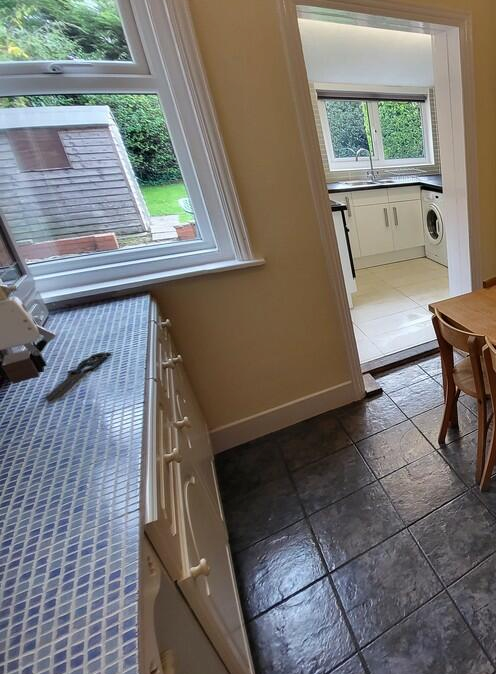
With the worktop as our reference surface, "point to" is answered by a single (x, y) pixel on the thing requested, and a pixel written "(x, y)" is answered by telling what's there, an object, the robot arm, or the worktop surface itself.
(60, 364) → the worktop surface
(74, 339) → the worktop surface
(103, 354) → the knife
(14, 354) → the walnut bar
